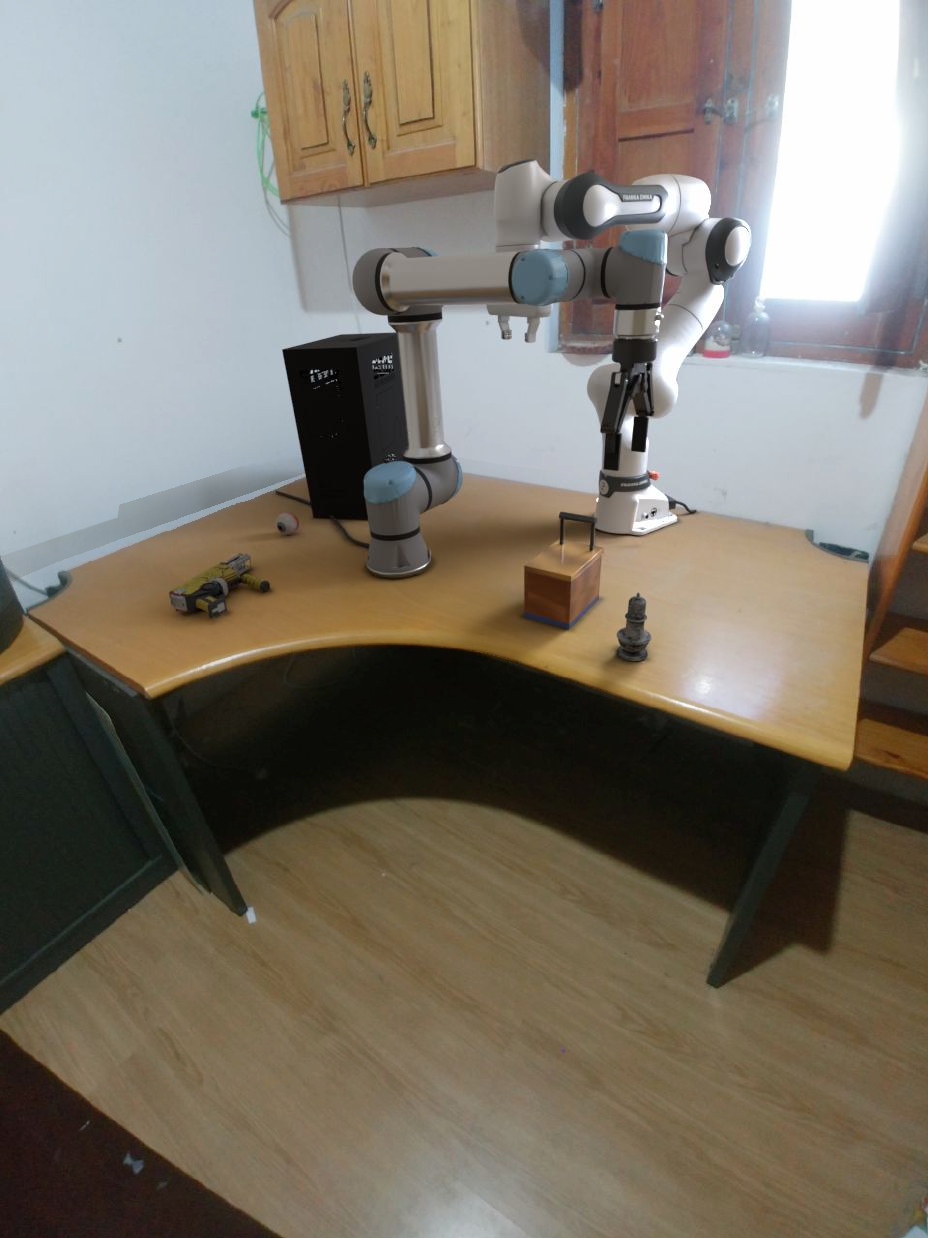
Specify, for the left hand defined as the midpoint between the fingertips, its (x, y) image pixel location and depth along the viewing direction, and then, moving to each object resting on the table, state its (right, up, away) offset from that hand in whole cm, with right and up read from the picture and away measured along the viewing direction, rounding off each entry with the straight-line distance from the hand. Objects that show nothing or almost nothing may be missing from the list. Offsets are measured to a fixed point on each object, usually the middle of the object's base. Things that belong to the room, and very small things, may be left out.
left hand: (625, 460), depth 114 cm
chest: (-11, -28, +8) cm, 31 cm away
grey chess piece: (-1, -36, -7) cm, 37 cm away
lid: (-11, -19, +4) cm, 22 cm away
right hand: (-19, +28, +11) cm, 35 cm away
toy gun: (-82, -24, +22) cm, 88 cm away
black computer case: (-60, +8, +75) cm, 97 cm away
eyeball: (-78, -7, +51) cm, 94 cm away
